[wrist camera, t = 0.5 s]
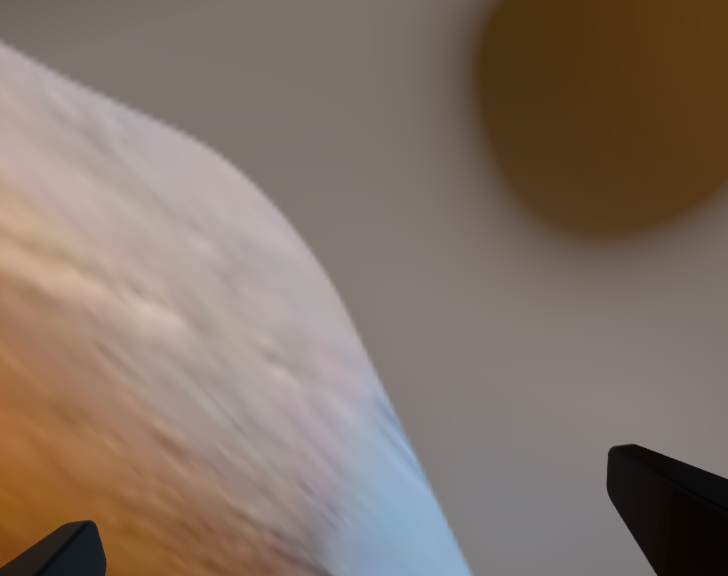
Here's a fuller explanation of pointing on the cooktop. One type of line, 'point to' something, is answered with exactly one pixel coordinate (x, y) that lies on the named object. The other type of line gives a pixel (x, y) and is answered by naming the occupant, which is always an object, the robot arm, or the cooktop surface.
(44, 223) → the cooktop surface
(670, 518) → the robot arm
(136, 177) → the cooktop surface
